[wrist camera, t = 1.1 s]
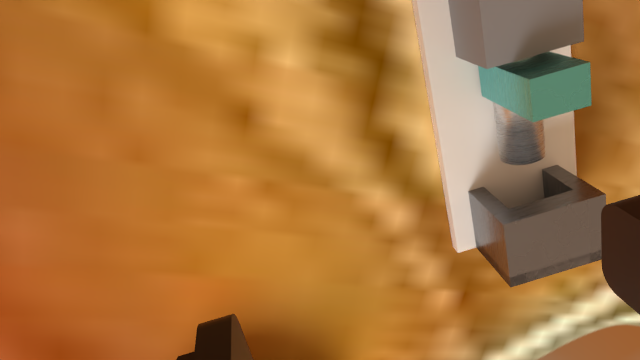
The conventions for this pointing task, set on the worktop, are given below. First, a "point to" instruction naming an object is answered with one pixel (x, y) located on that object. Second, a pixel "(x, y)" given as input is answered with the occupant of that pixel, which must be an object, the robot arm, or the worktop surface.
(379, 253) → the worktop surface
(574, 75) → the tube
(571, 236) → the socket
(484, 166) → the board
